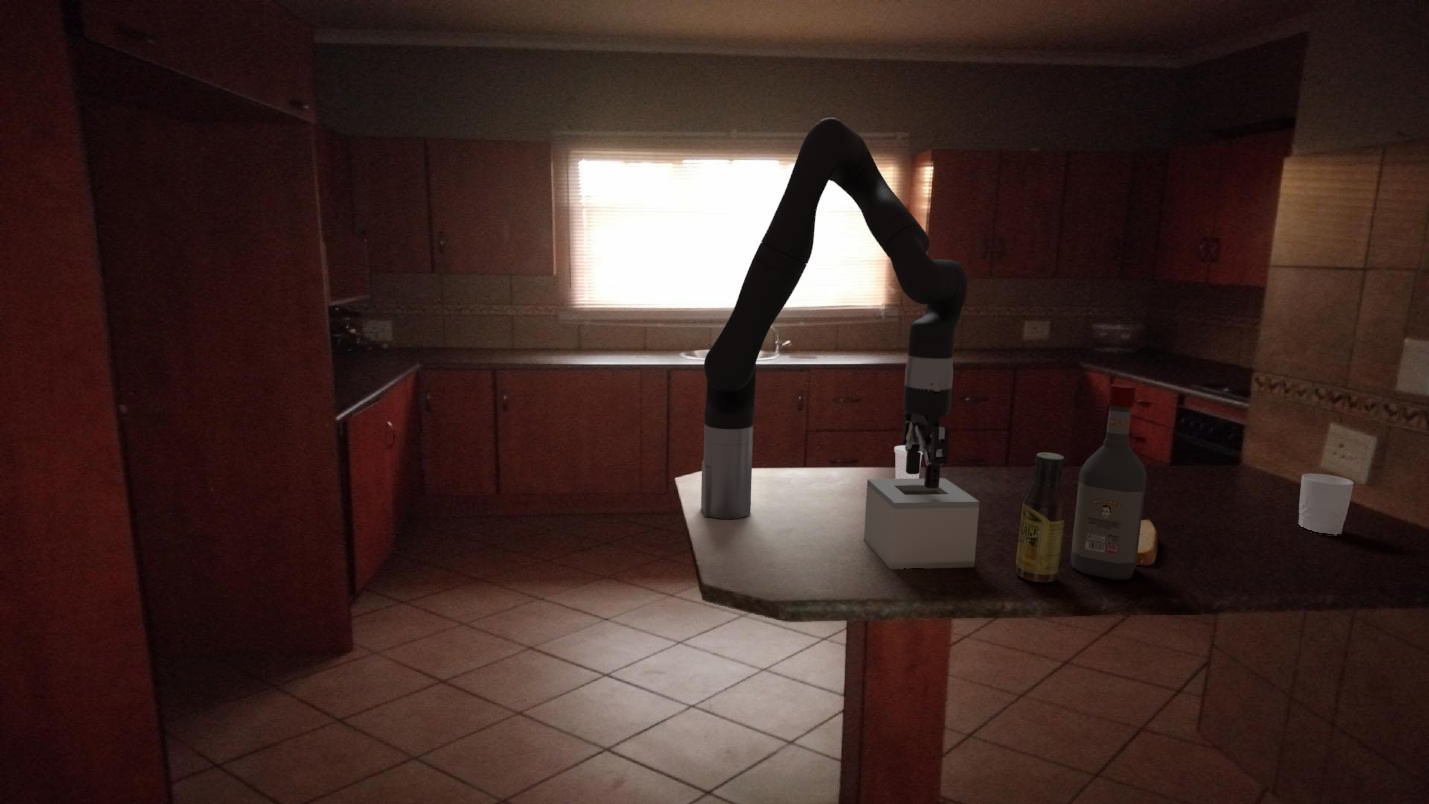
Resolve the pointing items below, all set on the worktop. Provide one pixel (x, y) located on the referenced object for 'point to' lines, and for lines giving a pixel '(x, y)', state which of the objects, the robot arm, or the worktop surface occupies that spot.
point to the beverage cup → (903, 464)
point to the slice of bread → (1147, 543)
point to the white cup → (1324, 502)
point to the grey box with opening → (921, 524)
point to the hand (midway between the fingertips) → (921, 480)
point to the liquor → (1110, 498)
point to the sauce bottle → (1042, 522)
